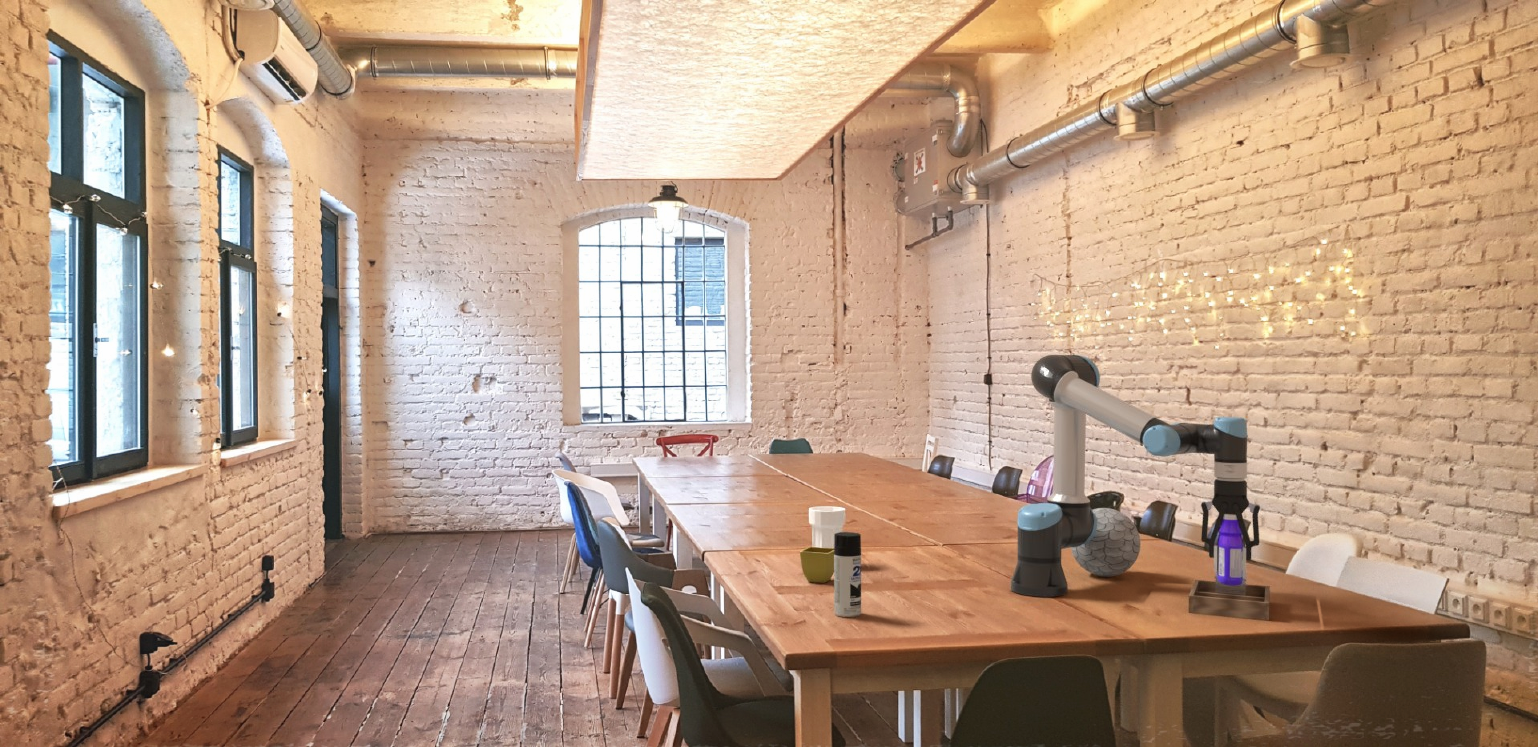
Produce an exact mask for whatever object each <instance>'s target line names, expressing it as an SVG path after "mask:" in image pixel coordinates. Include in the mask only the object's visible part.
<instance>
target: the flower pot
mask: <svg viewBox="0 0 1538 747" xmlns="http://www.w3.org/2000/svg"><path fill="white" fill-rule="evenodd" d="M799 556H800V565H801V569H802V570H801V571H802V573H803V575H804V577H805V578H806V580H807V581H808V583H809V582H810V583H822V584H824V583H827V582H829V581H830V580H831V578H832V577H833V576H834V548H821V547H813V546H808V547H807V548H806V547H805V548H804V549H802V550H800V551H799Z"/></svg>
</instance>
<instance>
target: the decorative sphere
mask: <svg viewBox="0 0 1538 747" xmlns="http://www.w3.org/2000/svg"><path fill="white" fill-rule="evenodd" d="M1092 510H1093V513H1094V514H1095V515H1096V518H1097V530H1096V533H1095V535H1094V536H1093V538H1092V539H1091V540H1090V541H1089V542H1087V543H1085V544H1083V545H1081V546H1078V547H1073V548H1072V547H1070V551H1071V554H1072V556H1073V558H1074V560H1075V562H1077V564H1078V565H1079V566H1080V567H1081V568H1082V569H1084V571H1086V572H1088V573H1090V574H1092V575H1095V576H1098V577H1103V578H1104V577H1105V578H1106V577H1107V578H1108V577H1115V576H1119V575H1121V574H1123V573H1125V572H1127V571H1128V570H1129V569H1130V568H1131V567H1133V565H1134V564H1135V562H1136V561H1137V559H1138V558H1139V554H1140V551H1141V536H1140V533H1139V531H1138V528H1137V526H1136V525H1135V523H1134V522H1133V520H1132V519H1130V517H1128V516H1127V515H1126V514H1124V512H1121V511H1119V510H1117V509H1113V508H1110V507H1098V508H1094V509H1092Z"/></svg>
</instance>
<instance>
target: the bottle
mask: <svg viewBox="0 0 1538 747" xmlns="http://www.w3.org/2000/svg"><path fill="white" fill-rule="evenodd" d="M1218 534H1219V535H1218V538H1217V544H1218V568H1217V578H1218V581H1219V582H1220V583H1222V584H1225V585H1234V586H1236V585H1241V584H1242V581H1243V546H1244V541H1243V540H1244V539H1243V535H1242V532H1241V529H1240V526H1239V523H1238V520H1237V517H1236V515H1235V514H1224V516H1223V519H1222V522H1221V525H1220V528H1219V531H1218Z"/></svg>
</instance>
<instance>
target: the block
mask: <svg viewBox="0 0 1538 747" xmlns="http://www.w3.org/2000/svg"><path fill="white" fill-rule="evenodd" d="M1214 573H1215V574H1214V579H1215V593H1219V594H1230V595H1240V596H1246V584H1247V580H1248V572H1246V574H1243V581H1242V584H1241V585H1236V586H1234V585H1225V584H1222V583H1220V582H1219V581H1218V578H1217V572H1214Z"/></svg>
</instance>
